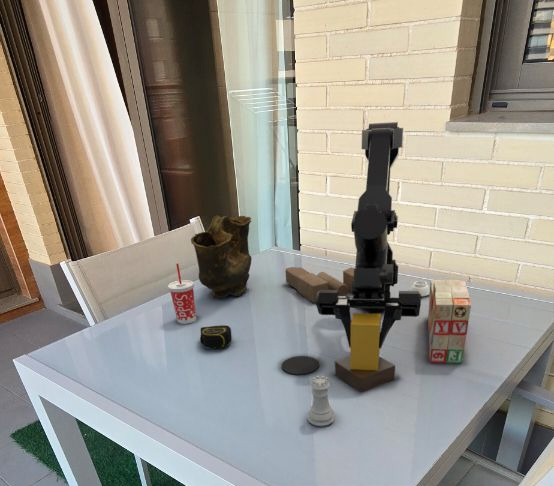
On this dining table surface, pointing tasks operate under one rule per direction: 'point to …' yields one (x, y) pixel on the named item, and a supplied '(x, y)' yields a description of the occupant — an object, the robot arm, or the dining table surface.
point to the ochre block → (365, 341)
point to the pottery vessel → (224, 255)
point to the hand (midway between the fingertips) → (364, 347)
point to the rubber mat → (300, 365)
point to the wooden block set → (318, 282)
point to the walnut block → (365, 374)
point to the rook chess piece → (320, 403)
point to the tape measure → (215, 336)
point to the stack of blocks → (448, 320)
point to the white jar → (421, 288)
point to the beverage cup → (183, 299)
